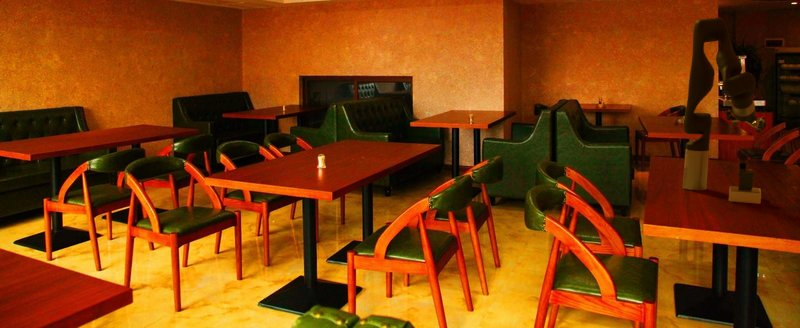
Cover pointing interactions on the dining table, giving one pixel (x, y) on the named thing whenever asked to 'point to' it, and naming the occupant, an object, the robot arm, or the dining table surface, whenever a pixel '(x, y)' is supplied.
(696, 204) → the dining table surface
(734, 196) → the riser
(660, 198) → the dining table surface
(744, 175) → the vaping device
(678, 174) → the dining table surface
